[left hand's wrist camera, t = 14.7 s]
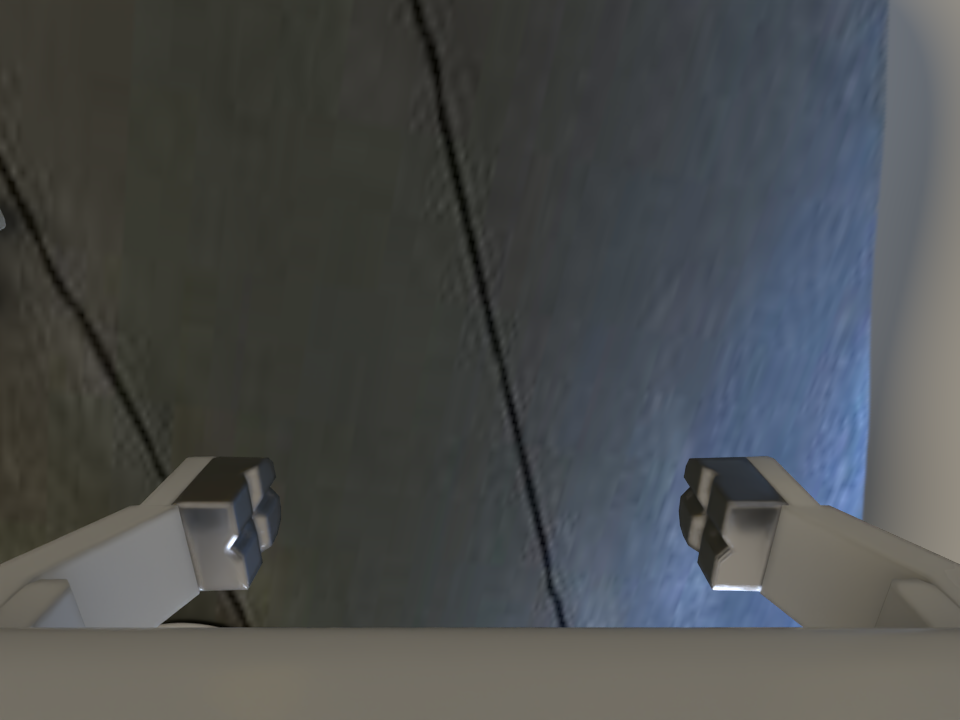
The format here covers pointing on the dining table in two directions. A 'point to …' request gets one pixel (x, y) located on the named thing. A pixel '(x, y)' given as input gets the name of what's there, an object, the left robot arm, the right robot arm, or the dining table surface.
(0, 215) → the clamp
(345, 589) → the dining table surface
